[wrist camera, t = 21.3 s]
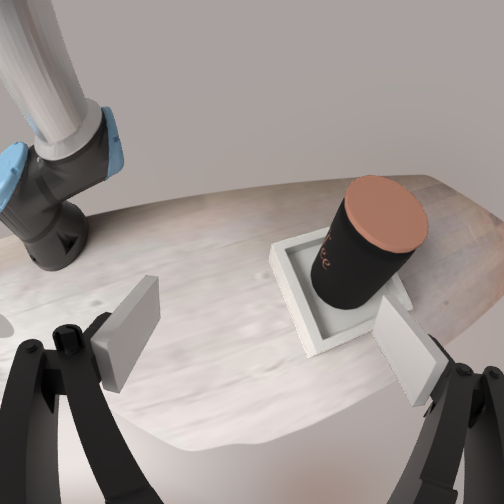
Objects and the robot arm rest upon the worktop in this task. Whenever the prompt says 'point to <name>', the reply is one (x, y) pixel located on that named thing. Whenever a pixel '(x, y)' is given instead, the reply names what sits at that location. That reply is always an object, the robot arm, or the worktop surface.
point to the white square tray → (312, 306)
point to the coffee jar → (367, 241)
